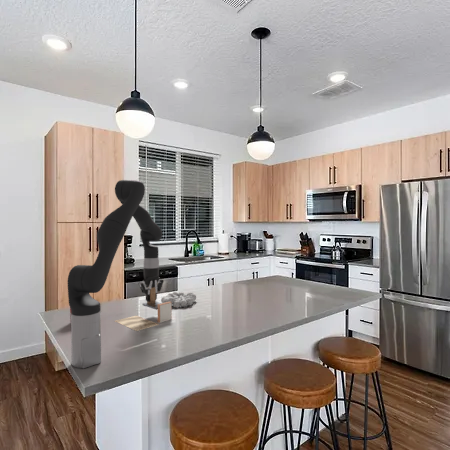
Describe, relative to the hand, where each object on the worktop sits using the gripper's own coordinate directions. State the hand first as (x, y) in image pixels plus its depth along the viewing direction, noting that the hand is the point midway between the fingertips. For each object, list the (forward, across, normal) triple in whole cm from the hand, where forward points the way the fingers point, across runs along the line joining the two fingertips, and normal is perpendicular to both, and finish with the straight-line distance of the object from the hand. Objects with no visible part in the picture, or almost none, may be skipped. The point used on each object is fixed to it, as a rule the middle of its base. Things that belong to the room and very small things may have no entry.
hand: (151, 300), depth 159 cm
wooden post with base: (+2, 0, -4) cm, 4 cm away
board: (+8, -11, -4) cm, 14 cm away
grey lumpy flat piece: (+9, +26, +11) cm, 30 cm away
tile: (+8, 0, -11) cm, 14 cm away
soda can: (+9, -29, +18) cm, 35 cm away
